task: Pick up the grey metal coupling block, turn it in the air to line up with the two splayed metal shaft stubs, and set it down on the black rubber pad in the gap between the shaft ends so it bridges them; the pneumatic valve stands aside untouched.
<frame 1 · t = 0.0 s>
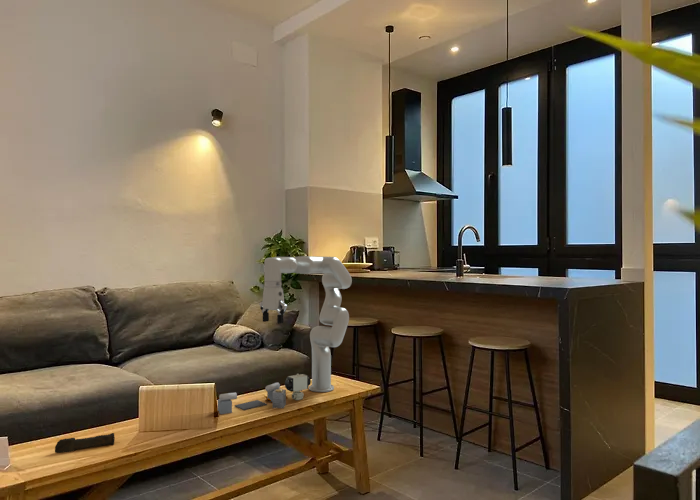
hand: (272, 322, 240), 37 cm above the table, tool pointing down, fingers open, 9 cm apart
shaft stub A: (274, 400, 247), on the table
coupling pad: (250, 405, 238), on the table
hand tool: (85, 449, 188), on the table
coupling block: (279, 406, 237), on the table
shaft stub B: (224, 411, 229), on the table
pneumatic valve: (297, 399, 248), on the table
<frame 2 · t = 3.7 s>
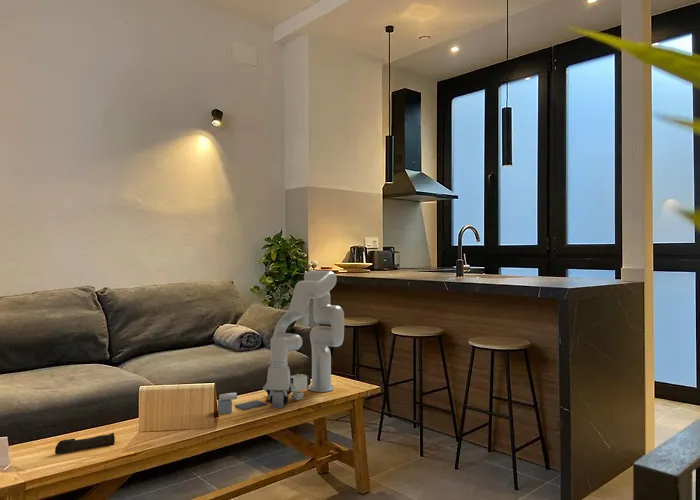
hand: (279, 404, 237), 1 cm above the table, tool pointing down, fingers closed on coupling block, 5 cm apart
coupling block: (279, 406, 237), on the table, touching gripper
when the fingers open (3 cm above the table, at t = 8.6 s): coupling block drops 1 cm, resting on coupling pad.
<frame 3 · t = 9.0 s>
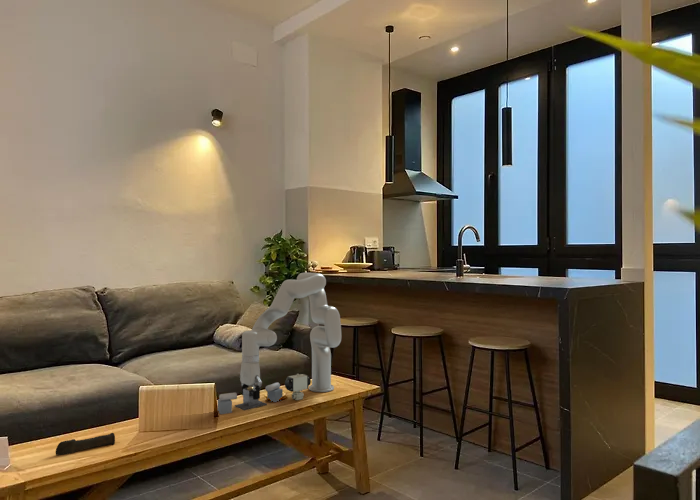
hand: (250, 396, 238), 4 cm above the table, tool pointing down, fingers open, 9 cm apart
coupling block: (250, 404, 238), point 1 cm above the table, touching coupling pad
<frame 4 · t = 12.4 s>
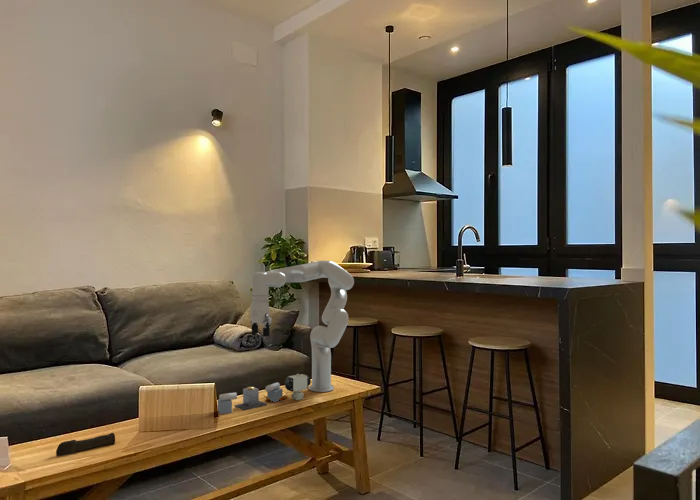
hand: (260, 334, 247), 30 cm above the table, tool pointing down, fingers open, 9 cm apart
at the end: coupling block 0.2 cm from the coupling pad (horizontally); coupling block tilted 0°; the gripper is holding nothing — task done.
